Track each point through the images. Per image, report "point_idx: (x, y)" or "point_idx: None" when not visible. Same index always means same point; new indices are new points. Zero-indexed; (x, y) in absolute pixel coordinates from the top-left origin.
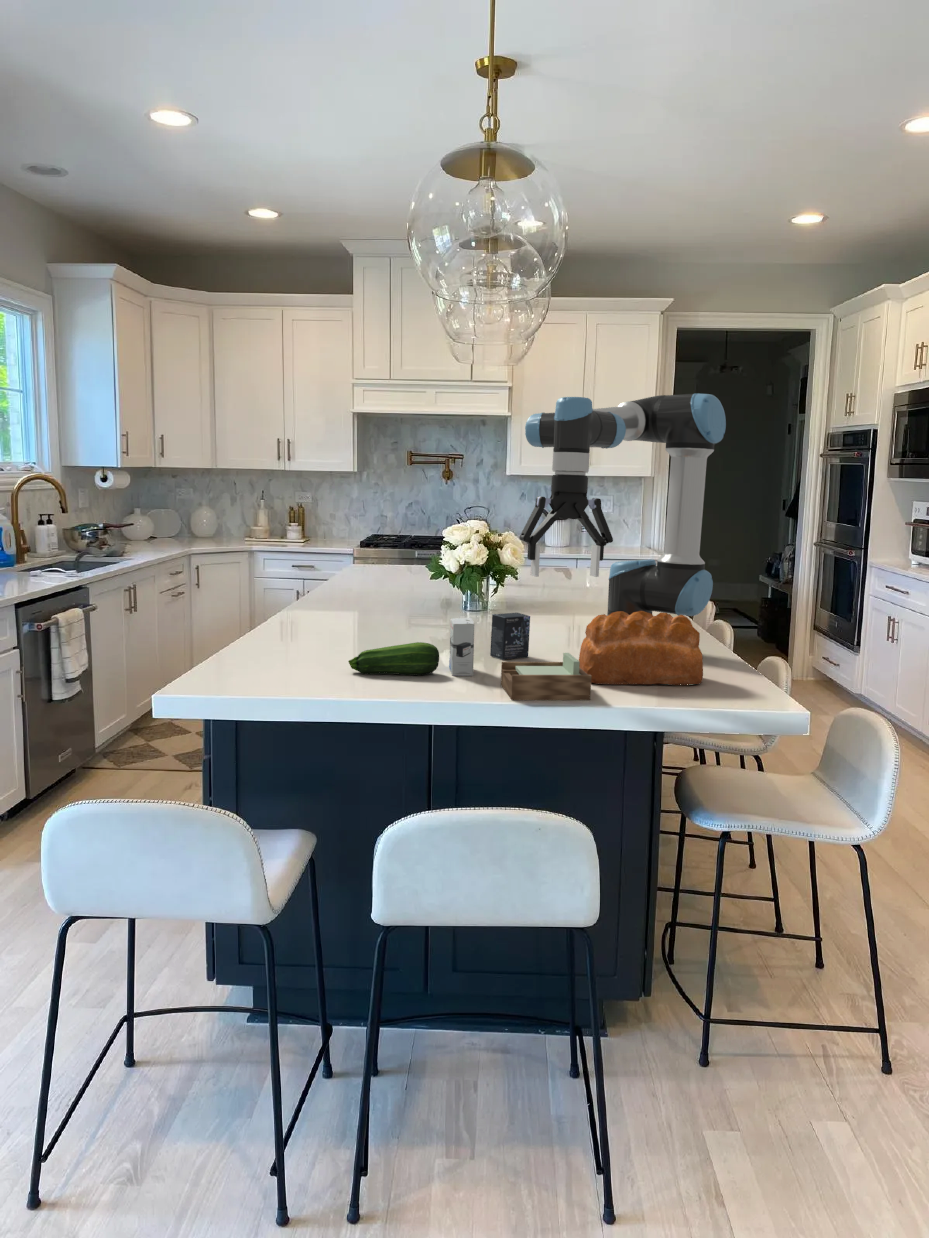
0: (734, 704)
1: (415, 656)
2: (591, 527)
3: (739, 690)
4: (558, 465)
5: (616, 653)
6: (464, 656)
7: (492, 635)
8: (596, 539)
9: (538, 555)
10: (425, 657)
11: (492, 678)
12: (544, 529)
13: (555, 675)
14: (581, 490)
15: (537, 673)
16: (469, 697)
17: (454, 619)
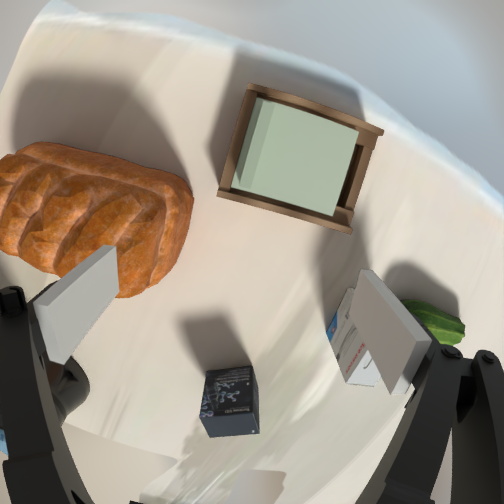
0: (66, 45)
1: (431, 310)
2: (21, 393)
3: (19, 117)
4: None
5: (137, 173)
6: None
7: (258, 406)
8: (31, 337)
9: (399, 311)
10: (421, 306)
11: (328, 267)
12: (435, 413)
13: (314, 102)
14: None
15: (325, 147)
16: (412, 169)
17: (378, 375)
